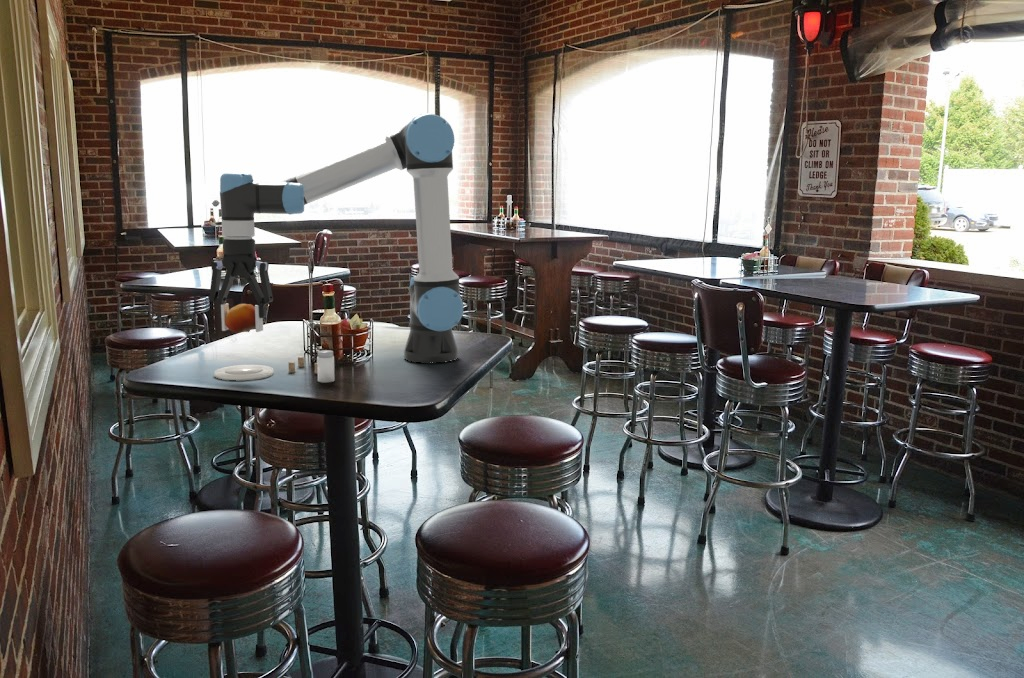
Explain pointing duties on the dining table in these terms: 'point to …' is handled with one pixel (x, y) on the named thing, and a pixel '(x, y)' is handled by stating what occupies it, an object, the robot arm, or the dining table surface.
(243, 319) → the fruit
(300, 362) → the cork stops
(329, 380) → the salt shaker
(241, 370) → the saucer
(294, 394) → the dining table surface
